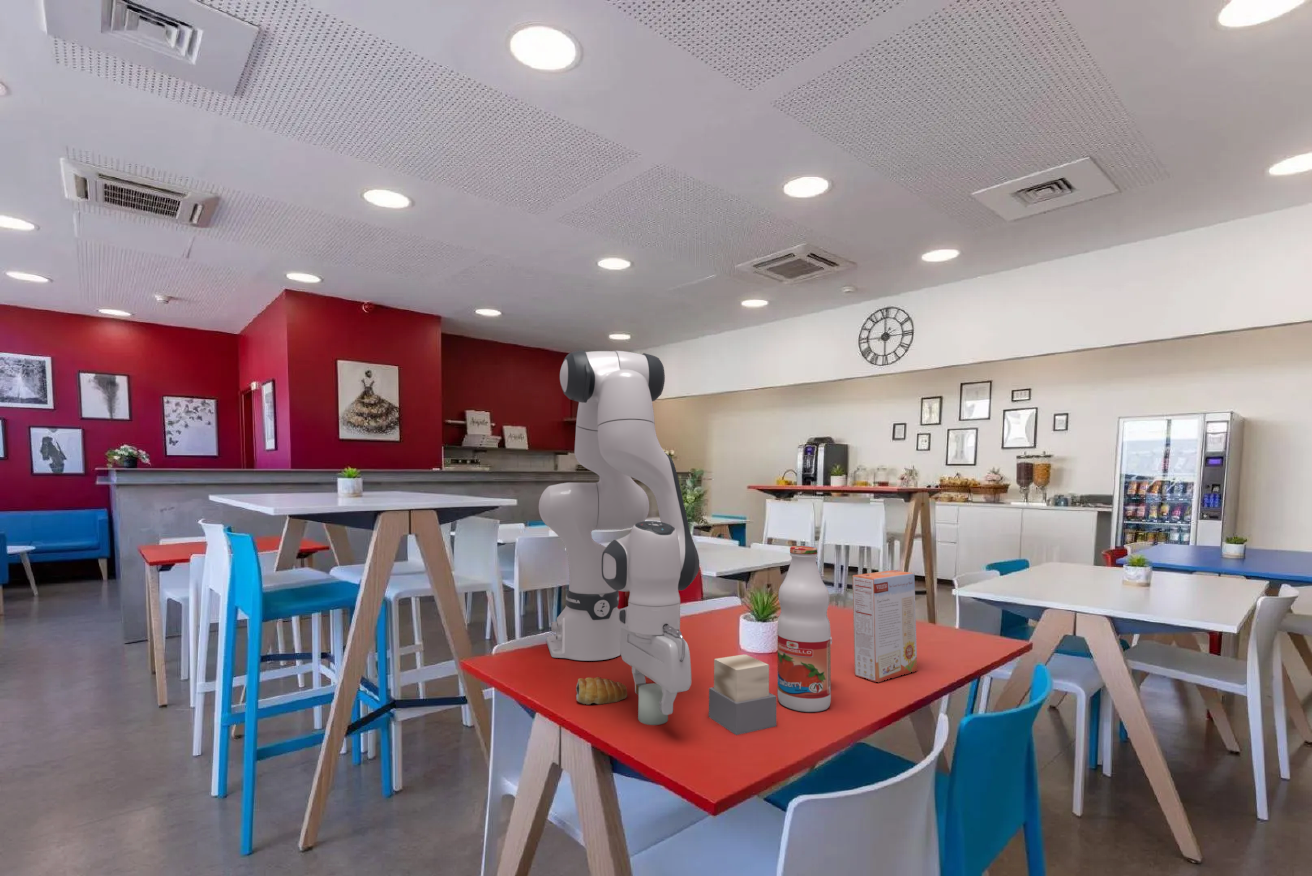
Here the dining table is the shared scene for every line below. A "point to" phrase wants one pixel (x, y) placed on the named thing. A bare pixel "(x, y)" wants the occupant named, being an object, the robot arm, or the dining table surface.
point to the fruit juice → (804, 635)
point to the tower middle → (741, 677)
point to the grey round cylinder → (650, 705)
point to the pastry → (599, 691)
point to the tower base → (742, 712)
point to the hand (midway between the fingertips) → (653, 703)
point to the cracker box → (884, 625)
